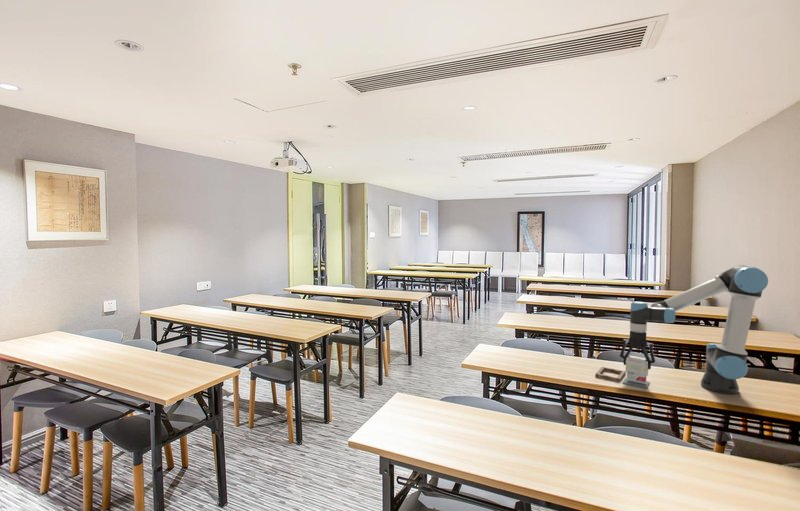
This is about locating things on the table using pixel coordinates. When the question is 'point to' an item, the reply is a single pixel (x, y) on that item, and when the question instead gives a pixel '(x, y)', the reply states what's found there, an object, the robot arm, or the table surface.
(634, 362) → the ink box
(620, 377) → the frame
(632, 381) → the pad
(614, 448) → the table surface
